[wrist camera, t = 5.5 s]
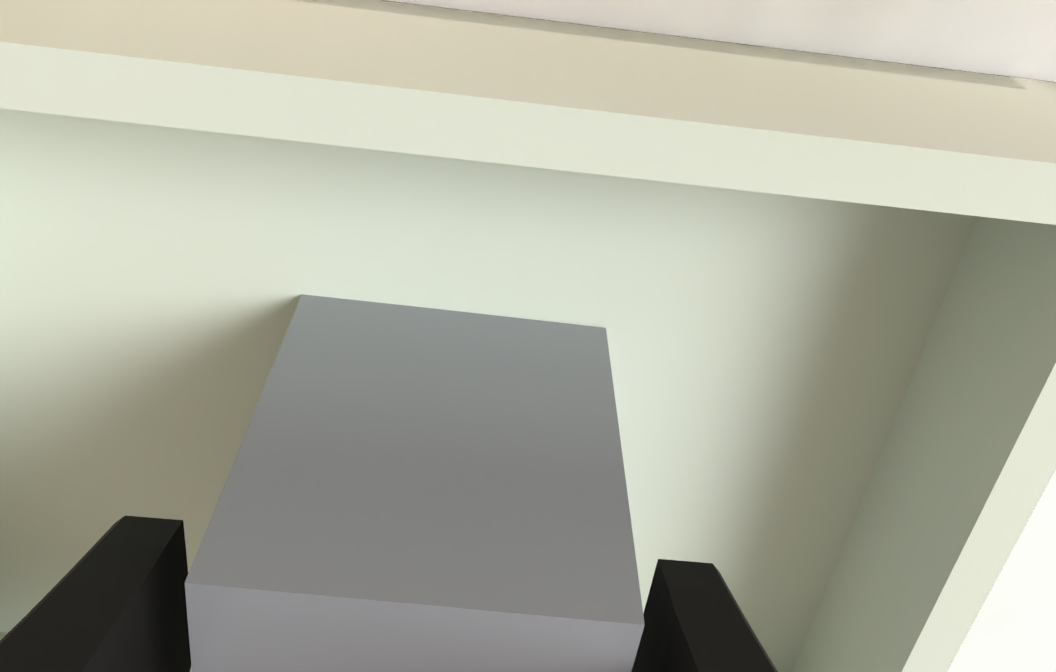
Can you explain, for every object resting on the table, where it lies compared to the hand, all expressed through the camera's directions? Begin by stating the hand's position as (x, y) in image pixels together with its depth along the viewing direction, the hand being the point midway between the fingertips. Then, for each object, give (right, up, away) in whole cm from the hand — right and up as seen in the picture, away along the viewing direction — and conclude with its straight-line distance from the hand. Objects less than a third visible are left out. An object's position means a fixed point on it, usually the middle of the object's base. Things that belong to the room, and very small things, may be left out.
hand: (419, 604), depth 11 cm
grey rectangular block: (0, +2, +3) cm, 3 cm away
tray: (-1, -2, +6) cm, 7 cm away
